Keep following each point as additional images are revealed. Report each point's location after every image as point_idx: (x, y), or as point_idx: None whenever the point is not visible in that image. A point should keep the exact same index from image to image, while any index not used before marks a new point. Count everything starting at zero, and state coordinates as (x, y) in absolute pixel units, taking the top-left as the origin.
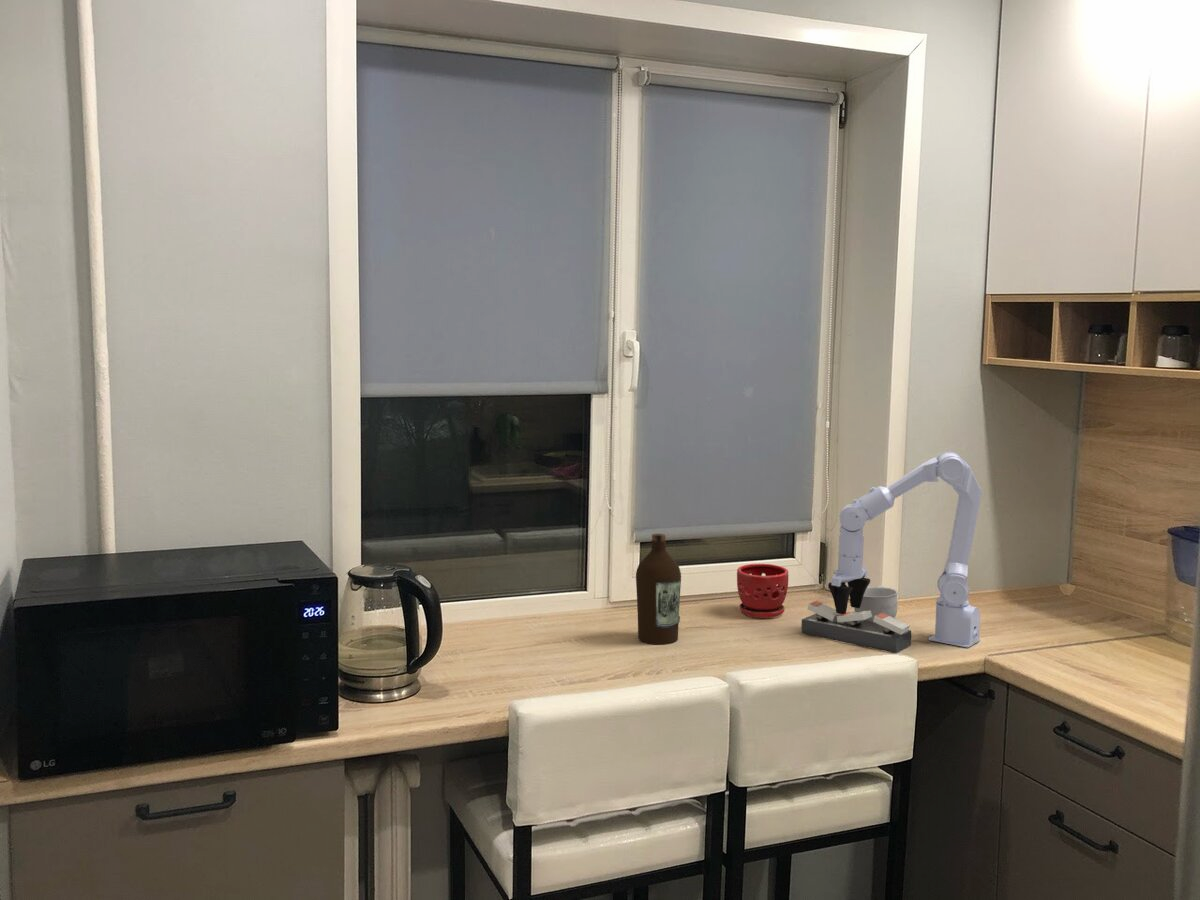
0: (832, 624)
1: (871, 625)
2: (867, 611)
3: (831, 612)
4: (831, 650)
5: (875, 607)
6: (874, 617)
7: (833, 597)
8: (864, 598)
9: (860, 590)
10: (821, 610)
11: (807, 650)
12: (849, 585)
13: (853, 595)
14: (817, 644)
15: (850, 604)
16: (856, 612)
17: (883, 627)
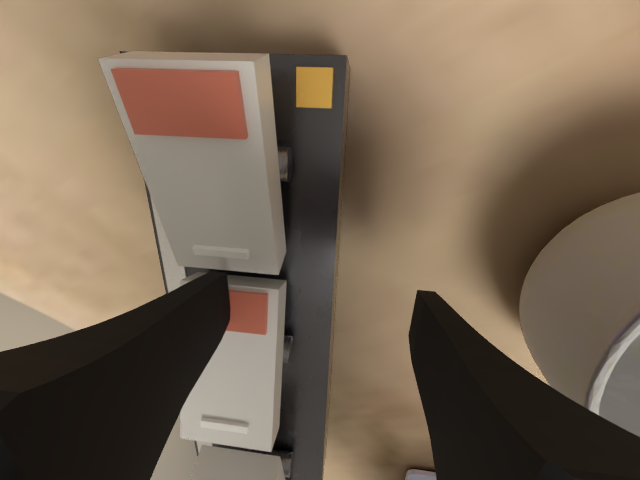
0: (166, 255)
1: (287, 387)
2: (248, 440)
3: (202, 239)
4: (93, 276)
5: (547, 374)
6: (193, 470)
7: (111, 323)
8: (591, 356)
9: (444, 466)
10: (150, 186)
11: (20, 210)
12: (485, 410)
13: (438, 364)
14: (106, 208)
15: (422, 294)
16: (253, 375)
17: (293, 424)
